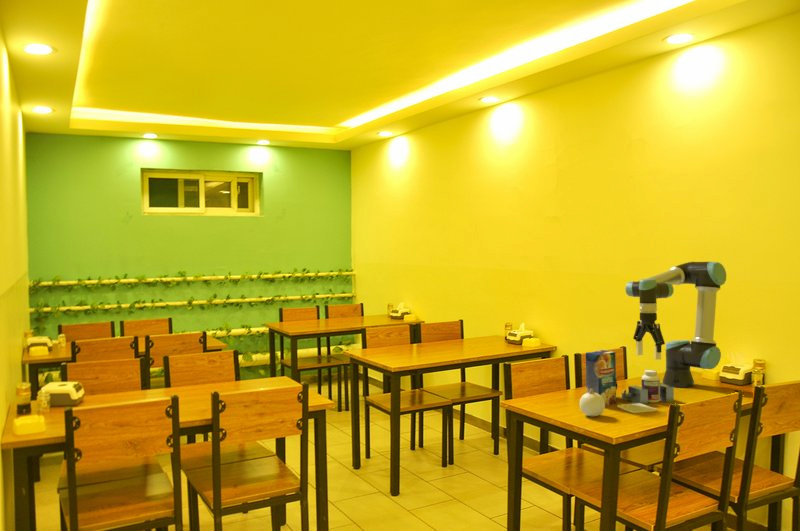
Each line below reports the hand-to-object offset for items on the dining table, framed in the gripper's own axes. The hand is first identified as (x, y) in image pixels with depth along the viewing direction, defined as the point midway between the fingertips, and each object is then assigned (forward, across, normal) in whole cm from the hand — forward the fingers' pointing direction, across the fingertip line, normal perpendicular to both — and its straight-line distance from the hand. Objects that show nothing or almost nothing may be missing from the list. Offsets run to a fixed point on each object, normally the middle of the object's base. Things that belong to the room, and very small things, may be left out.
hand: (648, 357), depth 302 cm
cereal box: (+21, -3, -24) cm, 32 cm away
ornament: (+21, +15, -39) cm, 47 cm away
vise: (+21, -2, -2) cm, 21 cm away
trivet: (+21, +11, -14) cm, 27 cm away
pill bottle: (+21, +1, 0) cm, 21 cm away
